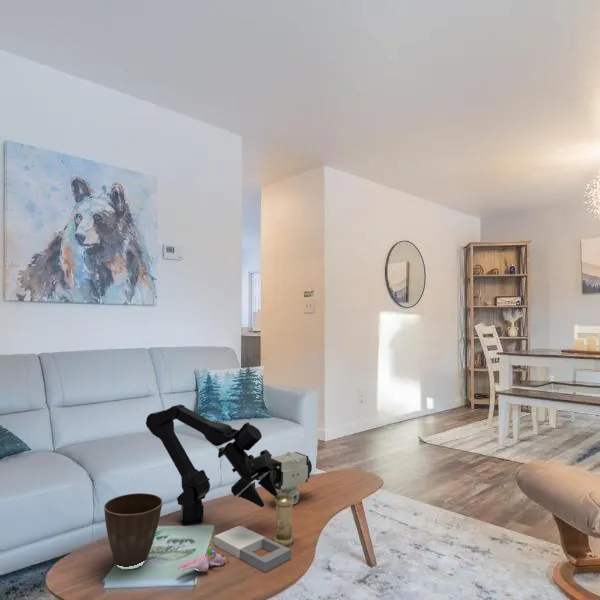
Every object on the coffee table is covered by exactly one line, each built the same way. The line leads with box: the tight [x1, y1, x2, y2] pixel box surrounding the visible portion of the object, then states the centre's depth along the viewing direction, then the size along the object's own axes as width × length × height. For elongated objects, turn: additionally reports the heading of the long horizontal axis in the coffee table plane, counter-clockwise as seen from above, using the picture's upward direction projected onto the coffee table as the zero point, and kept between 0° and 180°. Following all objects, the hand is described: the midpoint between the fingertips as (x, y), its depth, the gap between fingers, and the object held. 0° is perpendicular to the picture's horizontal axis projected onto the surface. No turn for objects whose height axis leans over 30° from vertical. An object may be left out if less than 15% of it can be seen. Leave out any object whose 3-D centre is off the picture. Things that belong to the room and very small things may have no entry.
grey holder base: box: [213, 525, 292, 573], centre depth 136 cm, size 22×10×2 cm, turn 49°
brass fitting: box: [273, 495, 295, 547], centre depth 143 cm, size 6×6×13 cm
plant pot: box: [103, 492, 163, 567], centre depth 128 cm, size 15×15×16 cm
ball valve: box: [271, 451, 313, 505], centre depth 173 cm, size 18×8×18 cm, turn 131°
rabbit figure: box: [177, 546, 230, 573], centre depth 126 cm, size 6×6×15 cm
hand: (270, 500), depth 145 cm, fingers open, 9 cm apart
